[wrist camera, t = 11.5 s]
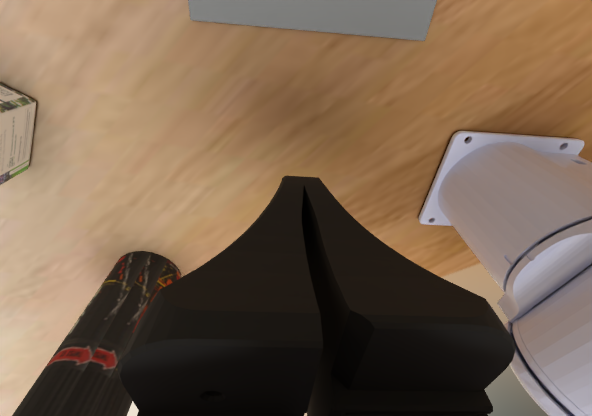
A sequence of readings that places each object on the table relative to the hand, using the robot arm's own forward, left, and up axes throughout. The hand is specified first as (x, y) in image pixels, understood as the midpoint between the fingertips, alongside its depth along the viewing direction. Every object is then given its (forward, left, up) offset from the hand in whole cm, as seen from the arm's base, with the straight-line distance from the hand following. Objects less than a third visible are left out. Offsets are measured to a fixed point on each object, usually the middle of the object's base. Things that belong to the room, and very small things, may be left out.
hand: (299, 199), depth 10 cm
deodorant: (+13, +16, -10) cm, 23 cm away
